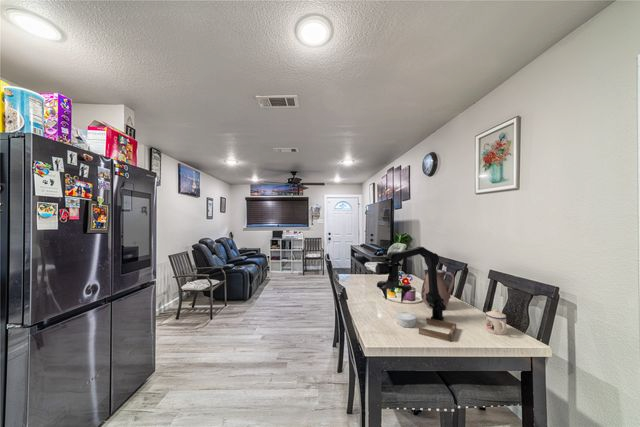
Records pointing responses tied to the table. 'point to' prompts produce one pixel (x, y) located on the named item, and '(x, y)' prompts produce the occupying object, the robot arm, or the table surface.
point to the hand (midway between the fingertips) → (393, 301)
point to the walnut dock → (439, 334)
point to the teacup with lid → (496, 322)
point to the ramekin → (406, 319)
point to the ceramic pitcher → (442, 287)
